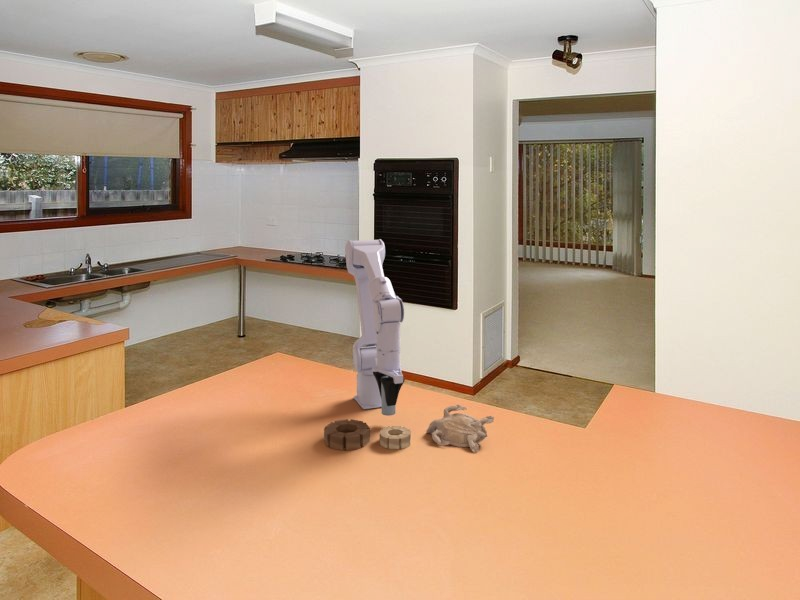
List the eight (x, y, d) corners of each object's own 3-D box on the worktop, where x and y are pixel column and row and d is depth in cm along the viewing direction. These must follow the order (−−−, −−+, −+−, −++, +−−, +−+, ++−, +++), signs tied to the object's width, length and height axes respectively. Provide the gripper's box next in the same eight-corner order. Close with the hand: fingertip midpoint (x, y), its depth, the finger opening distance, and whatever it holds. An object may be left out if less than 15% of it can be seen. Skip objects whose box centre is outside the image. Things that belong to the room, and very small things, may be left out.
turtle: (491, 449, 141) (493, 406, 143) (494, 453, 132) (496, 407, 133) (425, 445, 143) (427, 402, 144) (423, 449, 133) (426, 403, 135)
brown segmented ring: (320, 435, 141) (320, 423, 141) (361, 428, 145) (361, 417, 144) (331, 453, 132) (331, 440, 132) (374, 445, 136) (374, 433, 135)
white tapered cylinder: (379, 411, 148) (379, 376, 146) (392, 409, 149) (392, 374, 147) (384, 416, 145) (384, 380, 143) (397, 414, 146) (397, 379, 144)
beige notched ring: (373, 441, 138) (373, 431, 137) (396, 433, 142) (396, 423, 142) (393, 452, 133) (393, 441, 132) (416, 443, 137) (416, 432, 137)
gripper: (363, 342, 149) (363, 394, 152) (382, 359, 135) (382, 415, 138) (390, 339, 151) (390, 390, 154) (411, 355, 138) (411, 411, 141)
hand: (388, 402), depth 146 cm, fingers closed on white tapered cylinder, 3 cm apart
